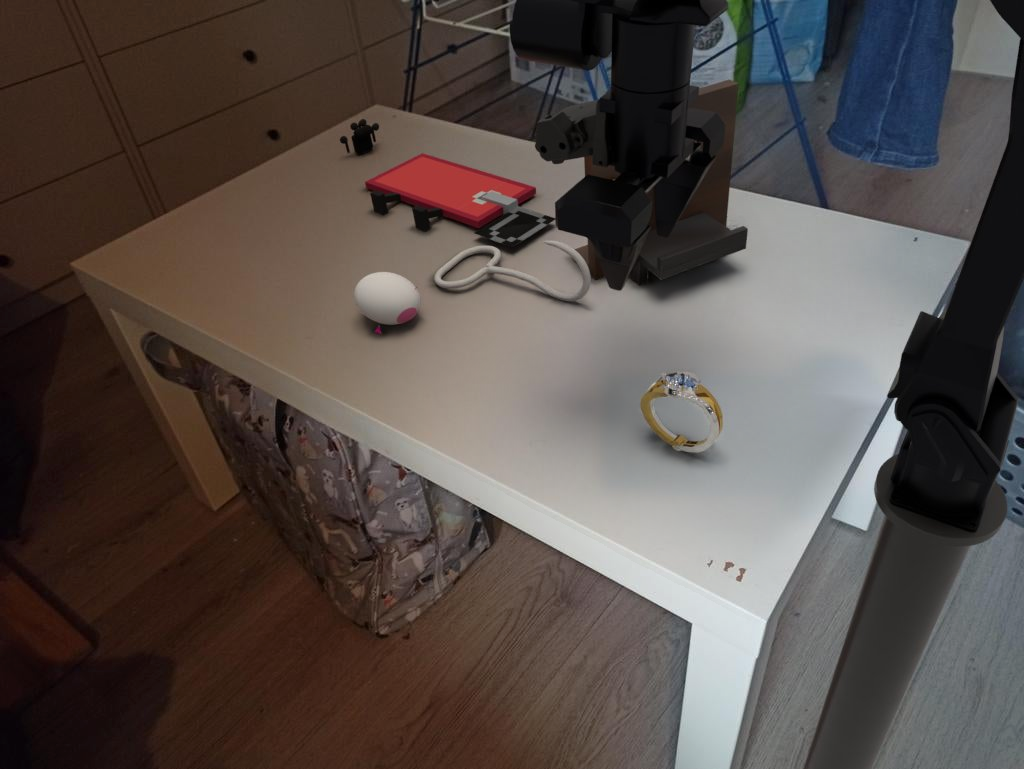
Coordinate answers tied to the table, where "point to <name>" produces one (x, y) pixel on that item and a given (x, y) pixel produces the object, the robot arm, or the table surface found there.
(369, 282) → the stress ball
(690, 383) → the ring
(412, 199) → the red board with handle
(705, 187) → the door rack
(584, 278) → the white cord
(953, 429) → the robot arm
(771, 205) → the table surface
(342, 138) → the wireless earbuds
